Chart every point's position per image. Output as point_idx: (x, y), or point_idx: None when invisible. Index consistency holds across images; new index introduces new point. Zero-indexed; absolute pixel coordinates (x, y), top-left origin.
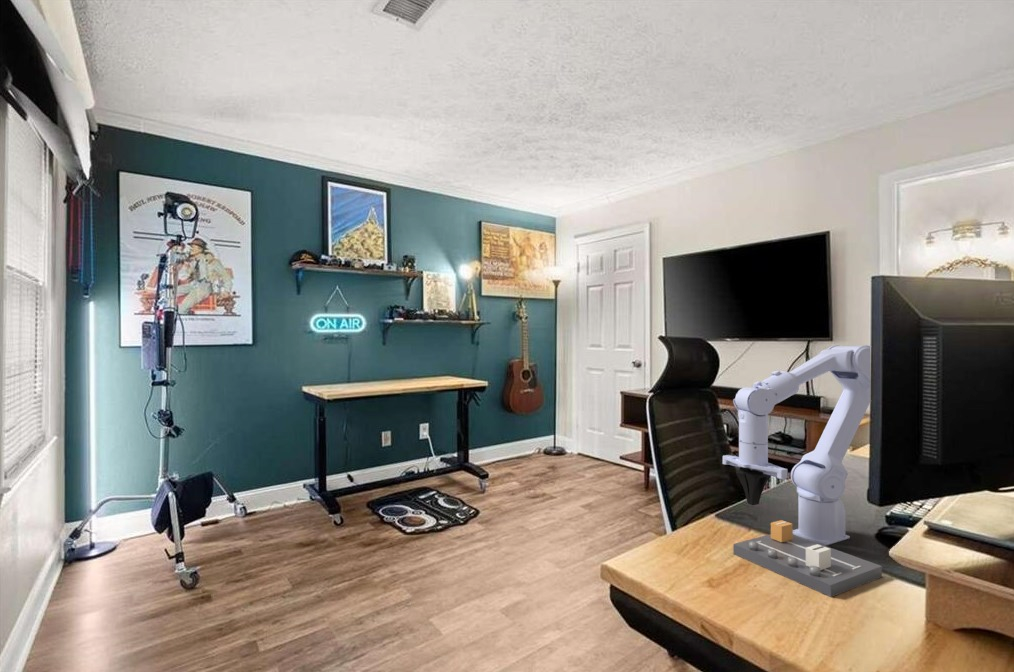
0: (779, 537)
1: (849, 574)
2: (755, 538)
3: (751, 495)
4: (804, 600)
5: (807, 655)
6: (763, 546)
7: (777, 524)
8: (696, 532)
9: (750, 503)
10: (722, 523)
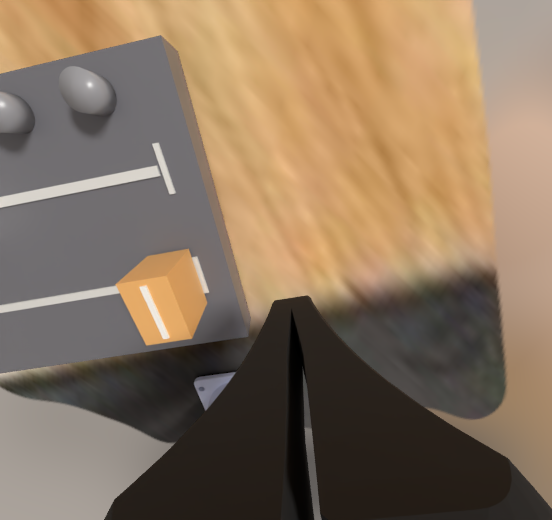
0: (149, 261)
1: None
2: (205, 196)
3: (270, 331)
4: None
5: None
6: (124, 163)
7: (141, 286)
8: (425, 68)
9: (287, 300)
10: (436, 248)
